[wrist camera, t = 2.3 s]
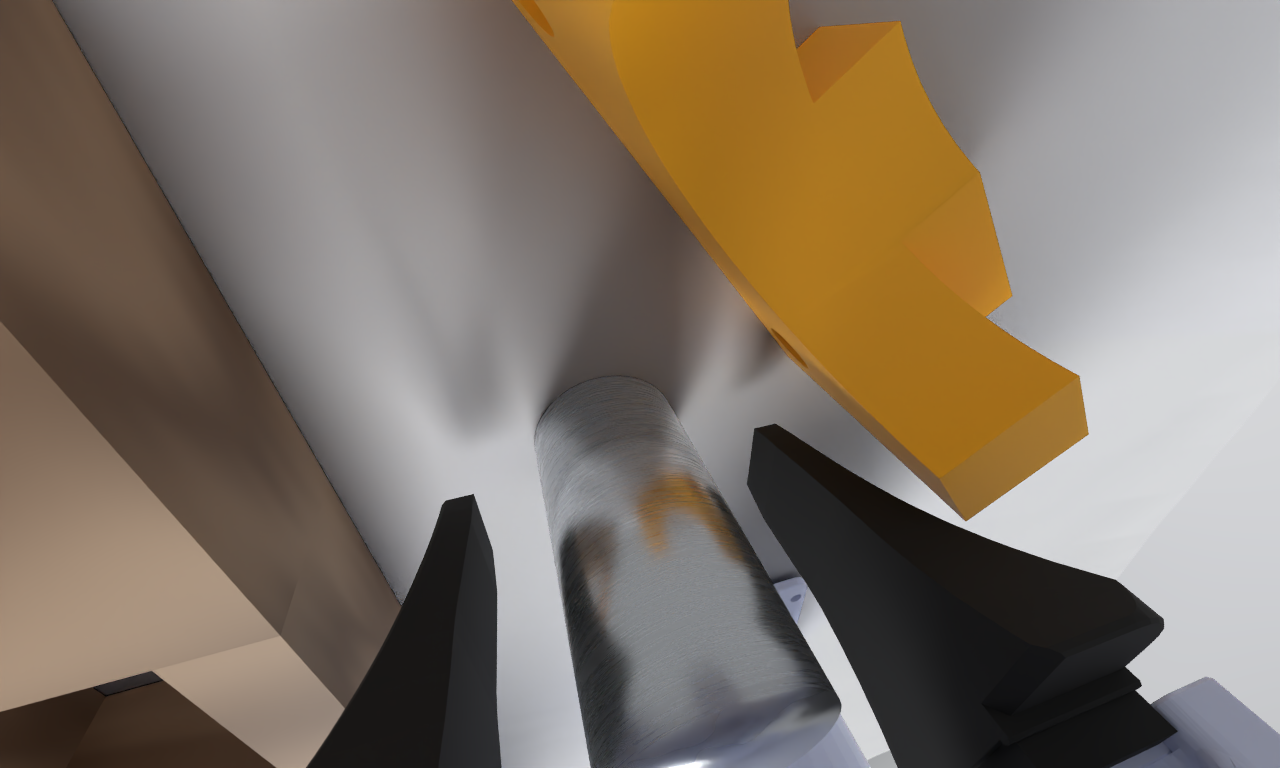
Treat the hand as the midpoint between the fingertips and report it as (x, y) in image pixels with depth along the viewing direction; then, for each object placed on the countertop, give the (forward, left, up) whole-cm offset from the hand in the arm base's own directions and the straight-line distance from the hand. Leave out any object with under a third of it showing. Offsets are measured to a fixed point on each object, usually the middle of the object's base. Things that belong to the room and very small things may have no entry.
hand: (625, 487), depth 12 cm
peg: (0, 0, -2) cm, 2 cm away
